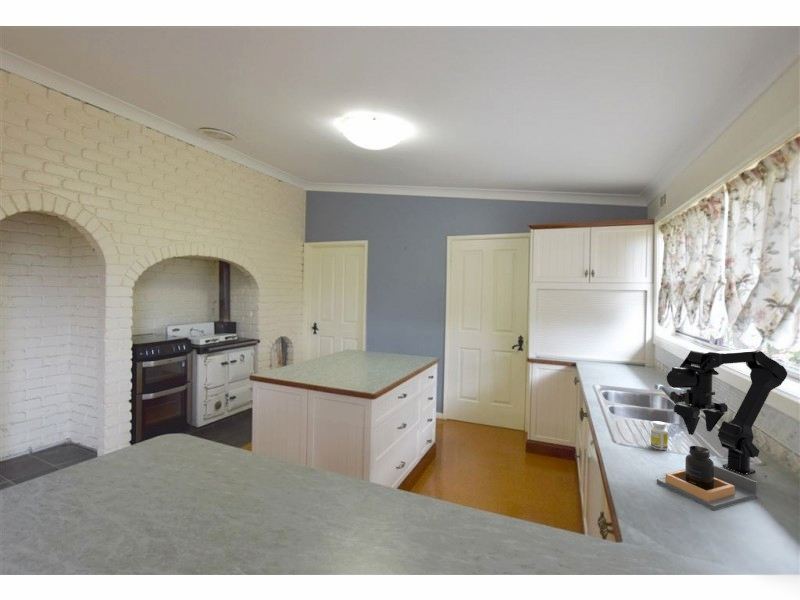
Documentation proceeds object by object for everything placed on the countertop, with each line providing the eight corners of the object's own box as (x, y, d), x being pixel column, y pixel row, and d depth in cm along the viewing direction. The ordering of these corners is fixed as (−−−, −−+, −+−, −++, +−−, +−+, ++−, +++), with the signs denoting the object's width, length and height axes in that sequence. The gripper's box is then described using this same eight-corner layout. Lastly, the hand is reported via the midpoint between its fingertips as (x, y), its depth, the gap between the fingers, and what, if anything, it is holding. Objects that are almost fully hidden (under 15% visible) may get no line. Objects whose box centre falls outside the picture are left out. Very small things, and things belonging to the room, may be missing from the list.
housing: (698, 472, 126) (698, 459, 126) (757, 497, 111) (757, 481, 111) (656, 482, 119) (657, 468, 119) (713, 510, 104) (713, 493, 104)
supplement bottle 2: (693, 480, 119) (693, 442, 119) (718, 490, 113) (719, 451, 112) (679, 484, 116) (680, 446, 116) (705, 495, 110) (706, 455, 110)
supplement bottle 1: (664, 445, 148) (665, 421, 148) (669, 451, 143) (670, 425, 143) (648, 443, 150) (649, 419, 150) (653, 449, 145) (653, 424, 145)
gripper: (693, 380, 138) (692, 422, 138) (658, 384, 132) (657, 428, 132) (729, 387, 128) (727, 432, 128) (692, 392, 121) (691, 439, 121)
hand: (700, 432), depth 128 cm, fingers open, 9 cm apart
